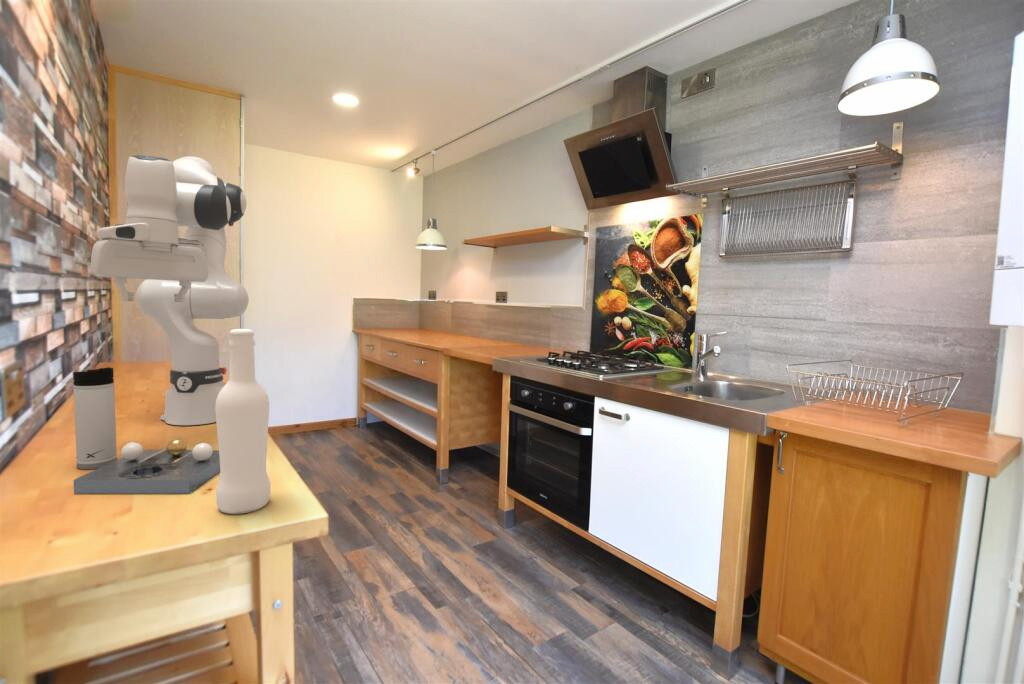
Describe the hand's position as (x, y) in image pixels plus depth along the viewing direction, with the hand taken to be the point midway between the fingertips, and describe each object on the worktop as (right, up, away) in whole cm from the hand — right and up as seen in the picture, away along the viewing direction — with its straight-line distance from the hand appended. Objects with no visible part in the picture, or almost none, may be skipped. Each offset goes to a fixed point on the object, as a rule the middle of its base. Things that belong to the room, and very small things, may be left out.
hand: (154, 301), depth 104 cm
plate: (+8, -34, -9) cm, 36 cm away
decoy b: (+1, -30, -8) cm, 31 cm away
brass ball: (+7, -30, -4) cm, 31 cm away
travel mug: (-9, -34, -4) cm, 35 cm away
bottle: (+30, -36, -20) cm, 51 cm away
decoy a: (+14, -30, -6) cm, 34 cm away
